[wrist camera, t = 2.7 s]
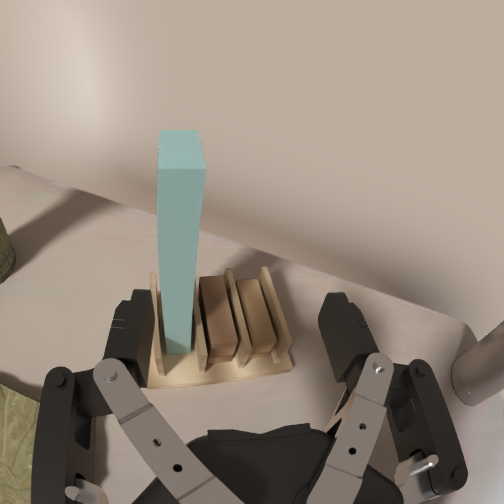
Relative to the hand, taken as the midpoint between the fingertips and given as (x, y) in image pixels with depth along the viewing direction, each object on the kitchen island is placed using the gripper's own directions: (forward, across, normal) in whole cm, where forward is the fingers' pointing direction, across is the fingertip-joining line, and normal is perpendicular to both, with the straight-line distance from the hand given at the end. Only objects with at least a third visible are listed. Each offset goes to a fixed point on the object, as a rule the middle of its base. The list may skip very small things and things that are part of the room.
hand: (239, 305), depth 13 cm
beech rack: (+12, +1, +18) cm, 22 cm away
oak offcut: (+13, -4, +17) cm, 22 cm away
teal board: (+11, +5, +17) cm, 21 cm away
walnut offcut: (+12, +1, +17) cm, 21 cm away
